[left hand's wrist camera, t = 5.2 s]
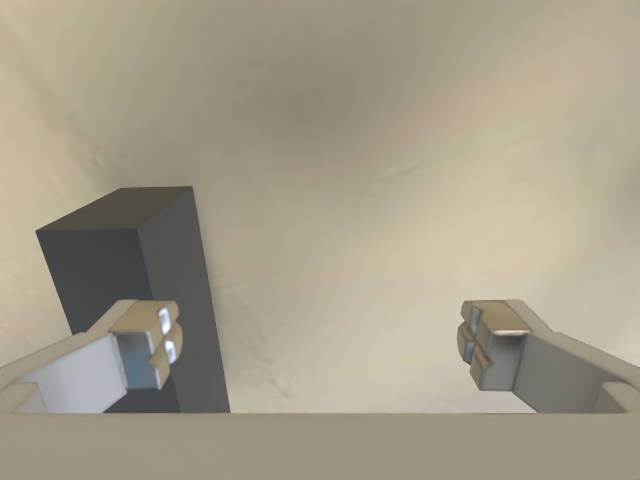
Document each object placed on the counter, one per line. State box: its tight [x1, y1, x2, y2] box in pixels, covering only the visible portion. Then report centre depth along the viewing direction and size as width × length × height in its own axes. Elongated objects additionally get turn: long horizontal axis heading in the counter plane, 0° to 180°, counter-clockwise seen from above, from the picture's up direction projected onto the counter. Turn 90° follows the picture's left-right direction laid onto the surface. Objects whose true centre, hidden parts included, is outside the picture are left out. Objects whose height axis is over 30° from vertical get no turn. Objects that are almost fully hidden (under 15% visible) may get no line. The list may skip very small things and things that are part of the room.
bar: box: [36, 186, 231, 413], centre depth 27 cm, size 26×5×8 cm, turn 1°
